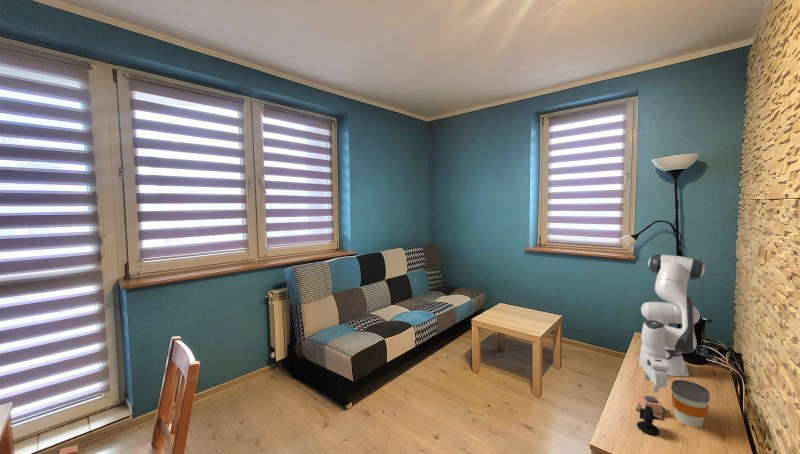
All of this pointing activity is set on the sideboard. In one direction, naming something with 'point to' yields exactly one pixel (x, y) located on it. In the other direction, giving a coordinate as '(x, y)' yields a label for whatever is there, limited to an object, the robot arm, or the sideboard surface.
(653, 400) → the base
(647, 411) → the webcam
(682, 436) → the sideboard surface
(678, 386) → the reusable coffee cup
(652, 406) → the pink square socket block
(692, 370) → the sideboard surface
